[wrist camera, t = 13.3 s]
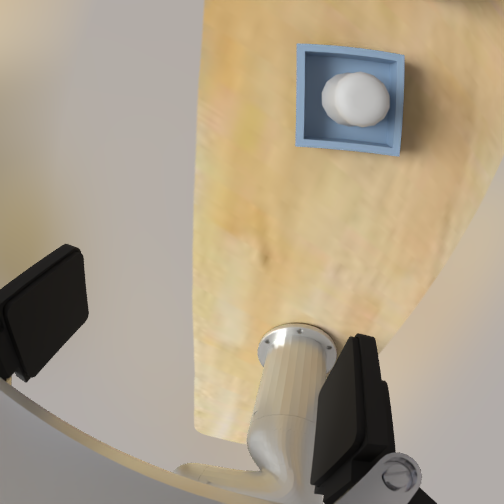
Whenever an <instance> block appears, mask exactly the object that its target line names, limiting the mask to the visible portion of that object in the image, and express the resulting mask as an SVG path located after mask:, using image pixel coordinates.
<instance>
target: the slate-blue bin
mask: <svg viewBox="0 0 504 504" xmlns="http://www.w3.org/2000/svg"><path fill="white" fill-rule="evenodd" d="M348 72H349V73H355V72H364V73H367V74H371V75H374V76H375V77H376V78H377V79H379V80H380V81H381V82H382V83H383V84H384V85H385V87H386V89H387V91H388V93H389V97H390V108H389V110H388V112H387V114H386V116H385V118H384V119H382V120H381V121H380V122H378V123H377V124H376V125H374V126H367V127H359V126H352V127H349V126H345V125H341V124H338V123H336V122H335V121H334V120H333V119H331V118H330V117H329V116H328V115H327V113H326V111H325V109H324V107H323V106H322V91H323V89H324V86H325V84H326V82H327V81H328V80H330V79H331V78H332V77H334V76H335V75H338V74H343V73H348ZM403 100H404V55H400V54H395V53H389V52H383V51H376V50H369V49H361V48H353V47H343V46H331V45H317V44H297V97H296V145H295V146H299V147H314V148H327V149H338V150H349V151H358V152H367V153H376V154H384V155H391V156H399V155H400V144H401V133H402V119H403Z"/></svg>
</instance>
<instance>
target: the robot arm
mask: <svg viewBox="0 0 504 504" xmlns="http://www.w3.org/2000/svg"><path fill="white" fill-rule="evenodd" d="M88 314H89V311H88V303H87V294H86V284H85V273H84V258H83V255H82V254H81V251H80V249H79V248H77V247H74V246H71V245H68V244H64V245H62V246H61V247H59V248H58V249H56V250H55V251H53V252H52V253H50V254H49V255H47V256H46V257H44V258H43V259H42V260H40V261H39V262H37V263H36V264H34V265H33V266H32V267H30V268H29V269H27V270H26V271H25V272H23V273H22V274H20V275H19V276H18V277H17V278H15V279H14V280H12V281H11V282H9V283H8V284H7V285H6V286H4V287H3V288H2V289H0V504H323V502H324V503H325V504H437V503H436V502H435V501H434V500H433V499H431V498H430V497H429V496H428V495H427V494H426V493H425V492H424V491H423V490H422V489H421V488H420V487H419V486H420V484H421V480H422V474H421V469H420V467H419V466H418V464H417V463H416V461H415V460H414V459H413V458H411V457H409V456H408V455H406V454H403V453H396V452H395V441H394V431H393V422H392V413H391V406H390V398H389V391H388V385H387V383H386V382H385V381H382V380H381V373H380V366H379V360H378V353H377V346H376V340H375V338H374V337H371V336H367V335H363V334H359V333H358V334H356V336H355V337H349V339H348V340H347V342H346V344H345V346H344V348H343V350H342V352H341V354H340V356H339V358H338V359H337V361H336V356H337V352H336V346H335V343H334V342H333V340H332V338H331V337H330V336H329V335H328V334H327V333H325V332H324V331H322V330H321V329H318V328H316V327H314V326H310V325H307V324H299V323H296V324H285V325H281V326H278V327H275V328H273V329H271V330H270V331H268V332H267V333H266V334H265V335H264V336H263V337H262V339H261V341H260V343H259V347H258V358H259V361H260V363H261V365H262V366H263V367H264V369H263V373H262V377H261V381H260V385H259V390H258V394H257V398H256V402H255V406H254V410H253V414H252V418H251V422H250V426H249V430H248V434H247V446H248V450H249V453H250V455H251V457H252V459H253V460H254V462H255V463H256V464H257V466H258V467H259V469H260V471H242V470H235V469H229V468H223V467H217V466H211V465H206V464H199V463H187V464H183V465H181V466H179V467H178V468H177V469H176V470H175V471H174V472H173V473H172V472H169V471H167V470H164V469H161V468H159V467H156V466H154V465H151V464H149V463H146V462H144V461H142V460H140V459H137V458H135V457H133V456H130V455H128V454H126V453H124V452H122V451H120V450H117V449H115V448H113V447H111V446H109V445H107V444H105V443H103V442H101V441H99V440H97V439H95V438H94V437H92V436H90V435H88V434H86V433H84V432H82V431H81V430H79V429H77V428H75V427H73V426H72V425H70V424H68V423H67V422H65V421H63V420H61V419H60V418H58V417H57V416H55V415H54V414H52V413H50V412H49V411H47V410H46V409H44V408H43V407H41V406H40V405H38V404H36V403H35V402H34V401H32V400H30V399H29V398H28V397H26V396H25V395H23V394H22V393H20V392H19V391H18V390H16V389H15V388H14V387H12V385H11V384H12V374H13V373H14V372H15V374H16V376H17V377H19V378H20V379H22V380H23V381H24V382H27V381H28V380H29V379H30V378H31V377H35V376H36V375H37V374H38V373H39V371H40V370H41V369H42V368H43V367H44V366H45V365H46V363H48V361H49V360H50V359H51V358H52V357H53V356H54V355H55V354H56V353H57V351H58V350H59V349H60V348H61V347H62V346H63V345H64V344H65V343H66V342H67V341H68V340H69V338H70V337H71V336H72V335H73V334H74V333H75V332H76V331H77V330H78V329H79V328H80V327H81V325H83V324H84V323H85V321H86V320H87V318H88ZM335 362H336V363H335ZM334 364H335V365H334ZM333 366H334V367H333ZM332 367H333V369H332ZM331 369H332V370H331ZM330 370H331V372H330V374H329V376H328V378H327V379H326V374H327V373H328V372H329V371H330ZM322 495H324V498H323V500H322Z"/></svg>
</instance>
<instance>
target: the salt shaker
mask: <svg viewBox="0 0 504 504" xmlns="http://www.w3.org/2000/svg"><path fill="white" fill-rule="evenodd" d="M322 106H323V107H324V109H325V111H326V113H327V115H328V116H329V117H330V118H331V119H333V120H334V121H335V122H336V123H338V124H341V125H345V126H349V127H352V126H359V127H367V126H374V125H376V124H377V123H378V122H380V121H381V120H382V119H384V118H385V116H386V114H387V112H388V110H389V108H390V97H389V93H388V91H387V89H386V87H385V85H384V84H383V83H382V82H381V81H380V80H379V79H377V78H376V77H375V76H374V75H371V74H367V73H364V72H355V73H349V72H348V73H343V74H338V75H335V76H334V77H332V78H331V79H330V80H328V81H327V82H326V84H325V86H324V89H323V91H322Z"/></svg>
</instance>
